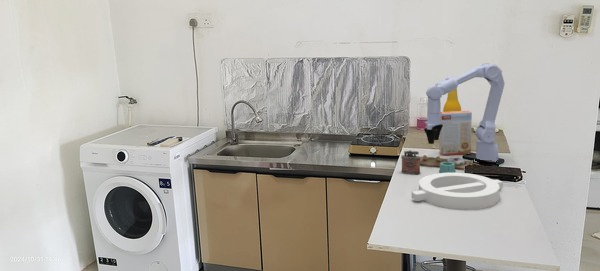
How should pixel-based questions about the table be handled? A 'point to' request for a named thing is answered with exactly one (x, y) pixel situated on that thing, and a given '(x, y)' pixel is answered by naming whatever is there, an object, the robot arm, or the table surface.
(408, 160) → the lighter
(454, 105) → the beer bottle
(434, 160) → the board
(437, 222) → the table surface
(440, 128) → the robot arm
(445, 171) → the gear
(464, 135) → the cracker box
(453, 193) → the ring with crossbar
